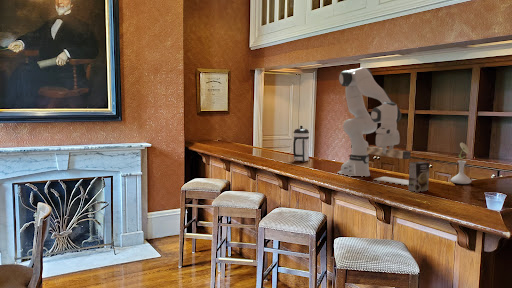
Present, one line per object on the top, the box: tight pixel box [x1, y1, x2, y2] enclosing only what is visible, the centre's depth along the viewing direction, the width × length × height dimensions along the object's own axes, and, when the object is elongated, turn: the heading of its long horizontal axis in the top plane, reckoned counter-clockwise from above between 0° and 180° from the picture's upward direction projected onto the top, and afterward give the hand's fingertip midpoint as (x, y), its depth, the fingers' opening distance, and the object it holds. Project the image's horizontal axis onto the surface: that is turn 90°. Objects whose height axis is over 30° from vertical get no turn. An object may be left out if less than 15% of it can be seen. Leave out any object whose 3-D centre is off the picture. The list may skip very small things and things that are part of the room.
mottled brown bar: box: [367, 146, 411, 160], centre depth 242 cm, size 26×4×4 cm, turn 41°
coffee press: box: [292, 125, 311, 164], centre depth 340 cm, size 17×16×30 cm
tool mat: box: [373, 176, 430, 187], centre depth 255 cm, size 30×12×1 cm, turn 41°
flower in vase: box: [450, 142, 472, 185], centre depth 250 cm, size 13×11×25 cm
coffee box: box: [408, 161, 430, 193], centre depth 232 cm, size 9×6×16 cm
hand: (387, 153), depth 242 cm, fingers closed on mottled brown bar, 4 cm apart
